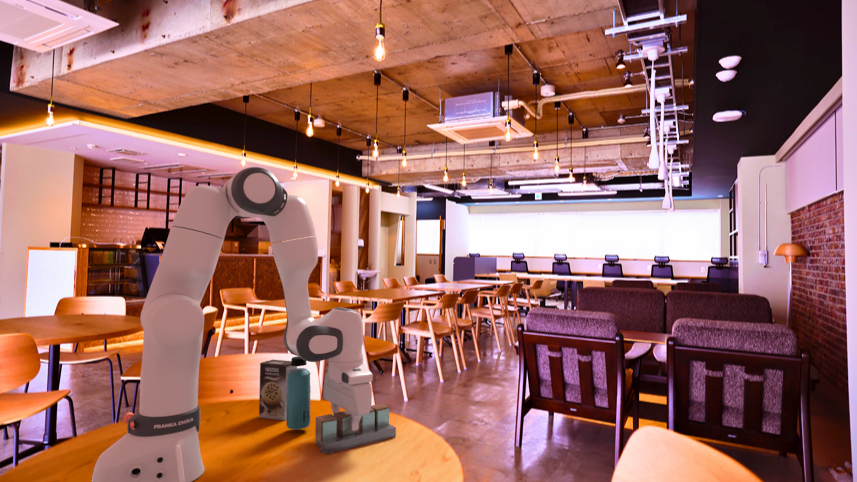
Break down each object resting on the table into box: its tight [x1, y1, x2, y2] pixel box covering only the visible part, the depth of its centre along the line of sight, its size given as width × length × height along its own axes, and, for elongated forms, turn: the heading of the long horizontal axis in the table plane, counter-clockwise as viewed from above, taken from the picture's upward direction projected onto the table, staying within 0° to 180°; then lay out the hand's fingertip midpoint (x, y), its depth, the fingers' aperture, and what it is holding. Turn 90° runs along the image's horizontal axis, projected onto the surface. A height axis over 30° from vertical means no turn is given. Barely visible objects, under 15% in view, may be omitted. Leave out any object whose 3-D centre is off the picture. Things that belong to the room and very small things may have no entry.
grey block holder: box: [314, 403, 397, 456], centre depth 122 cm, size 20×7×7 cm, turn 127°
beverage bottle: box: [285, 356, 312, 430], centre depth 130 cm, size 6×7×20 cm
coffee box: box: [258, 359, 298, 421], centre depth 142 cm, size 9×6×16 cm
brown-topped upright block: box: [335, 410, 356, 437], centre depth 122 cm, size 4×4×7 cm
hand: (345, 424), depth 122 cm, fingers open, 8 cm apart
